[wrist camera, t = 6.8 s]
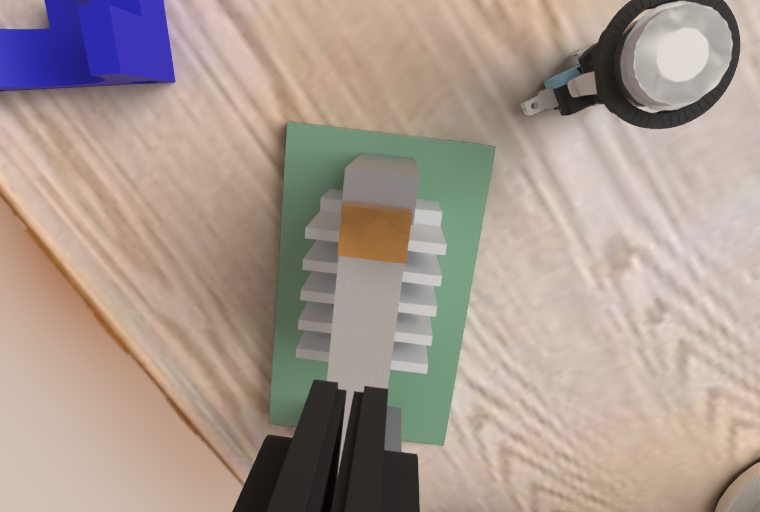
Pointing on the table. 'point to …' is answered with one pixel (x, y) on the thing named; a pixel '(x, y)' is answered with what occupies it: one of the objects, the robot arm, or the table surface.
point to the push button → (651, 64)
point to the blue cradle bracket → (89, 46)
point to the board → (420, 276)
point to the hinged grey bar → (367, 297)
